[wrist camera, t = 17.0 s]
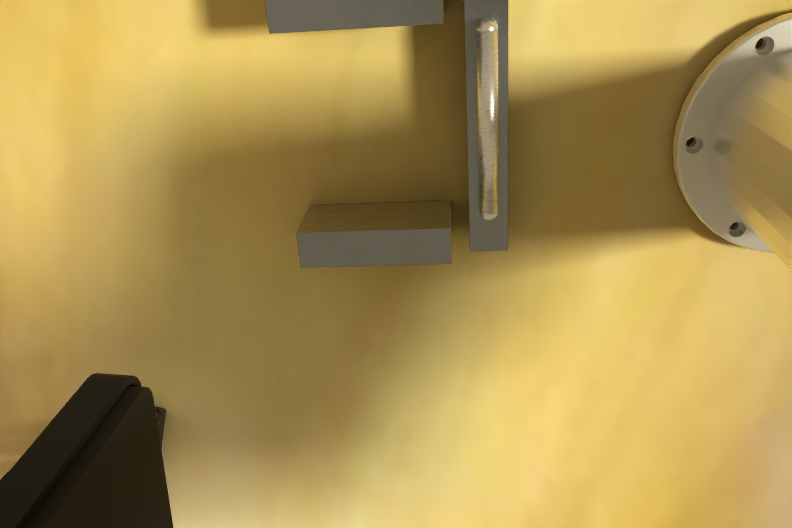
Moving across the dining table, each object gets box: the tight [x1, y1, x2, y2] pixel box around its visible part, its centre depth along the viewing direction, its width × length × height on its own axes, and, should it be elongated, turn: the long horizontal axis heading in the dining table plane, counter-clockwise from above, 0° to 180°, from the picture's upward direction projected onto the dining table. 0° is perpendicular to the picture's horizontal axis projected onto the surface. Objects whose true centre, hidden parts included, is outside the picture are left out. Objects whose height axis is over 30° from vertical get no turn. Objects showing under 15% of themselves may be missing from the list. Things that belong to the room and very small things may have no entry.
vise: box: [265, 0, 508, 268], centre depth 37 cm, size 11×14×4 cm
